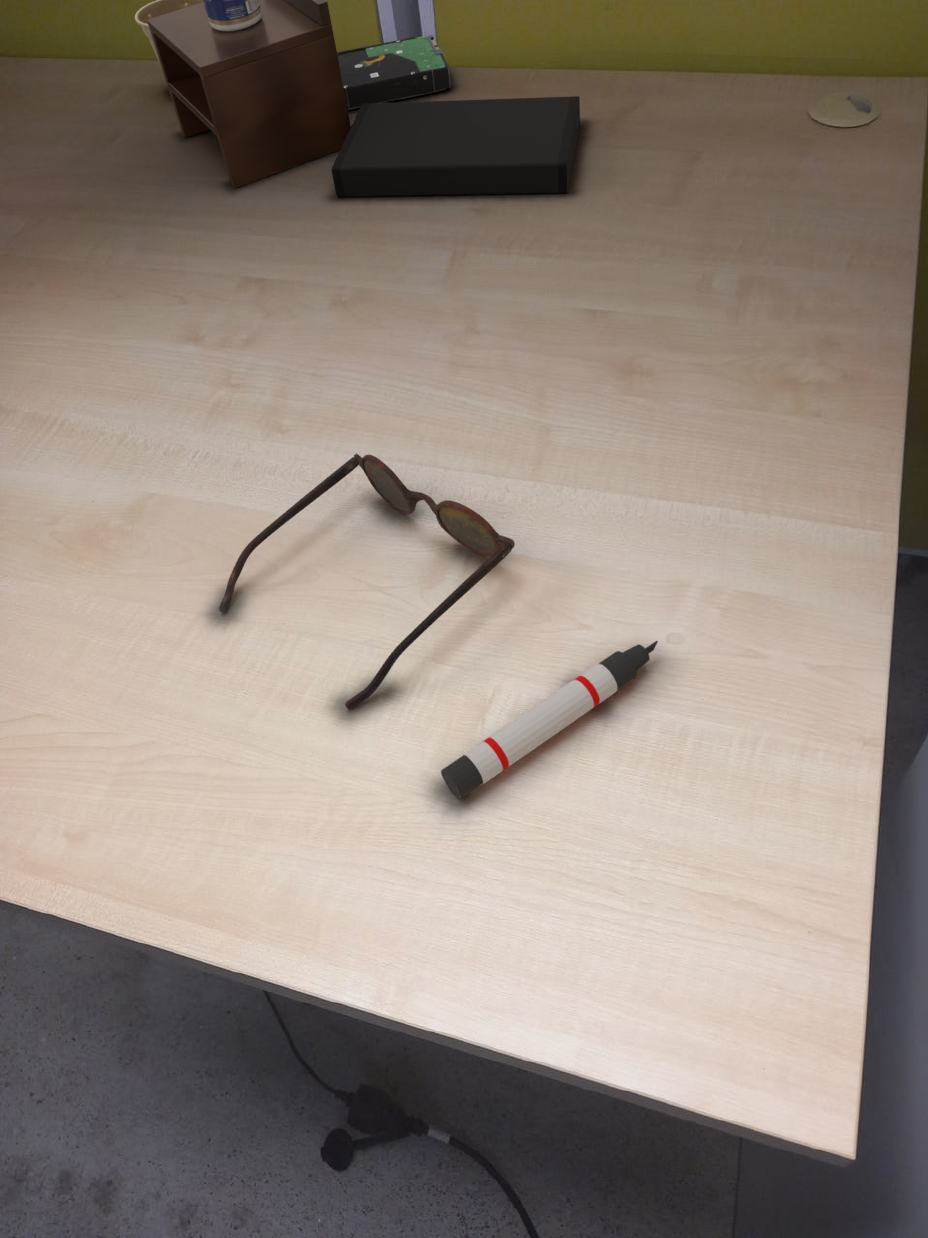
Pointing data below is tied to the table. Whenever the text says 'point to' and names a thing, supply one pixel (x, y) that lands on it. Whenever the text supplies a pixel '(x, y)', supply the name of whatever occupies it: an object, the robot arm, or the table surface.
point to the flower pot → (160, 13)
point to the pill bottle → (232, 14)
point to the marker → (544, 720)
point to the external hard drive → (459, 147)
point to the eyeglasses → (449, 514)
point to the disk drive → (393, 71)
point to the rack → (257, 84)
